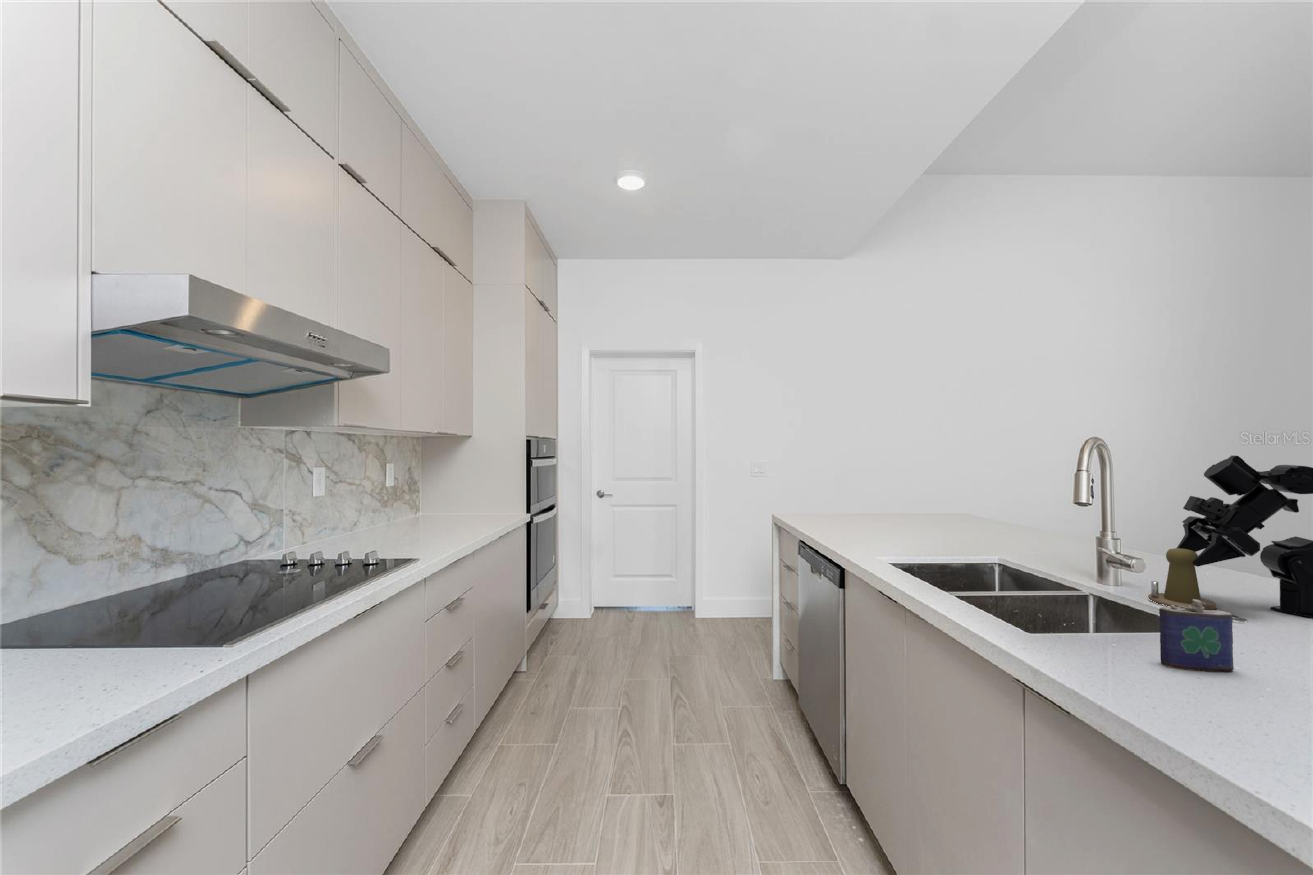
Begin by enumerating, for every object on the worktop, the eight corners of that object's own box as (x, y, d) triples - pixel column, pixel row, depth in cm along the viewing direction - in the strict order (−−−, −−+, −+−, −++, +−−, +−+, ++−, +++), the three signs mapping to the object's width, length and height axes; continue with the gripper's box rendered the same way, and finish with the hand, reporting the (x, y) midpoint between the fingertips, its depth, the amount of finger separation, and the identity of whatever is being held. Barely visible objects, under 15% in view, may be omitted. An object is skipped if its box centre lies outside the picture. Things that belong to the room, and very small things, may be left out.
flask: (1227, 667, 91) (1226, 598, 91) (1239, 674, 88) (1239, 604, 88) (1156, 661, 94) (1155, 595, 94) (1166, 668, 91) (1166, 600, 91)
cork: (1203, 605, 121) (1203, 552, 121) (1165, 600, 125) (1164, 549, 125) (1199, 598, 126) (1198, 548, 126) (1162, 594, 130) (1162, 545, 130)
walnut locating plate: (1170, 594, 133) (1170, 576, 133) (1229, 608, 122) (1229, 587, 122) (1135, 599, 129) (1135, 579, 129) (1193, 613, 119) (1193, 592, 119)
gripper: (1193, 480, 132) (1134, 527, 136) (1238, 487, 115) (1169, 539, 119) (1238, 516, 129) (1177, 562, 133) (1292, 528, 112) (1219, 581, 116)
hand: (1184, 560), depth 126 cm, fingers open, 9 cm apart
